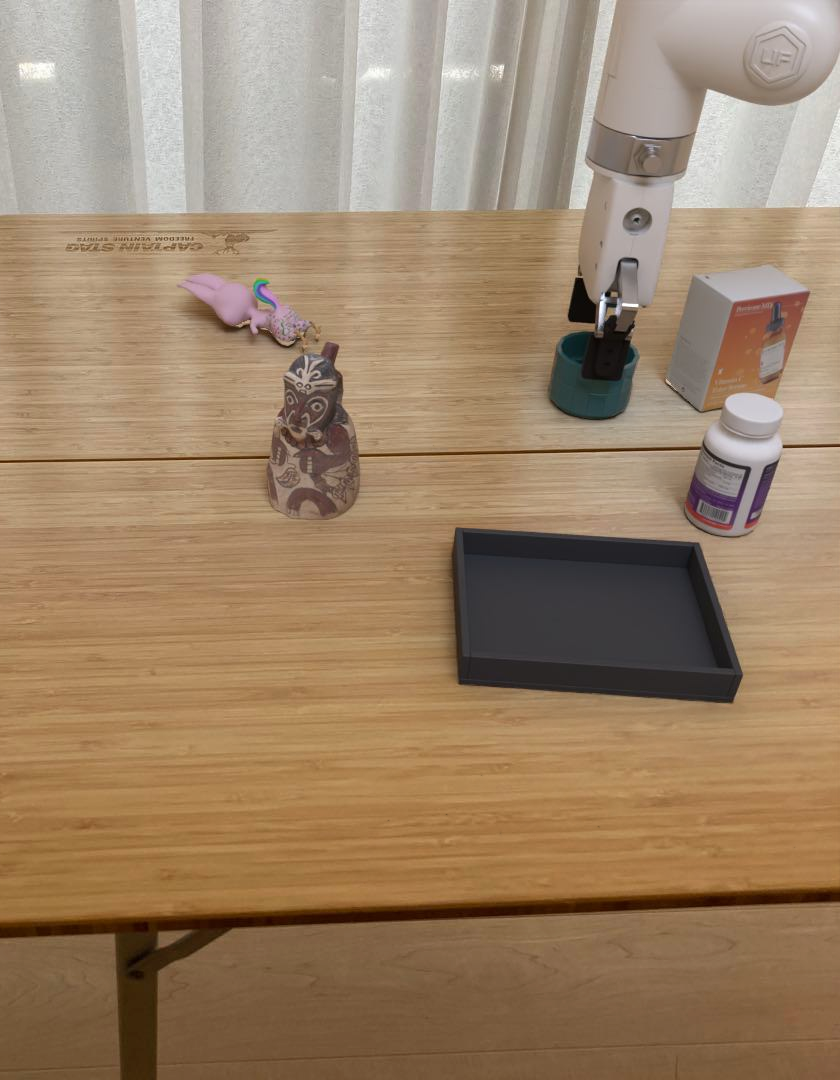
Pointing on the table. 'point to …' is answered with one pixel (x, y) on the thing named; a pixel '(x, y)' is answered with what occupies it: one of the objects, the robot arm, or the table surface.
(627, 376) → the cup
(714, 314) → the small box
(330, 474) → the figurine
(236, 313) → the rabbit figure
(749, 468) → the pill bottle
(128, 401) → the table surface
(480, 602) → the tray
